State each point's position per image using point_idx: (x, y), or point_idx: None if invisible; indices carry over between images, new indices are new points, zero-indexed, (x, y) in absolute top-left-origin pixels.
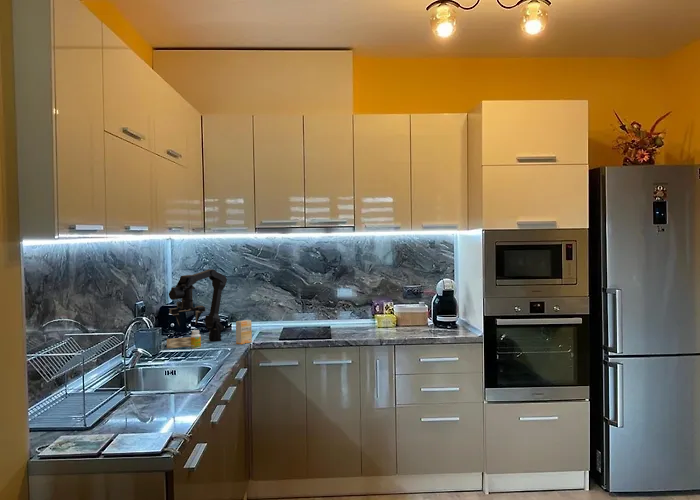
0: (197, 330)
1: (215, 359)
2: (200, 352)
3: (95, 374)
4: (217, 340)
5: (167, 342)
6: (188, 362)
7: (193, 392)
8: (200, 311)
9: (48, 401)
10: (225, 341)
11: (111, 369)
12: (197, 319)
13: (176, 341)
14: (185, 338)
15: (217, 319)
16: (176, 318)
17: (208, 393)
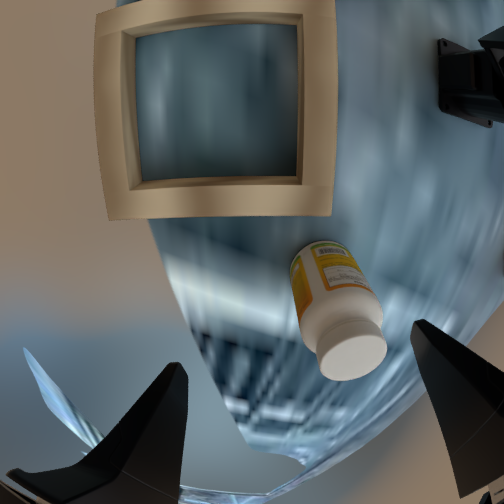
0: (372, 356)
1: (335, 434)
2: (319, 369)
3: (69, 424)
4: (475, 122)
5: (104, 164)
6: (256, 442)
7: (256, 495)
8: (489, 494)
9: None
10: (497, 156)
11: (75, 414)
12: (442, 404)
13: (177, 25)
14: (258, 13)
15: None
16: (108, 452)
17: (273, 497)
